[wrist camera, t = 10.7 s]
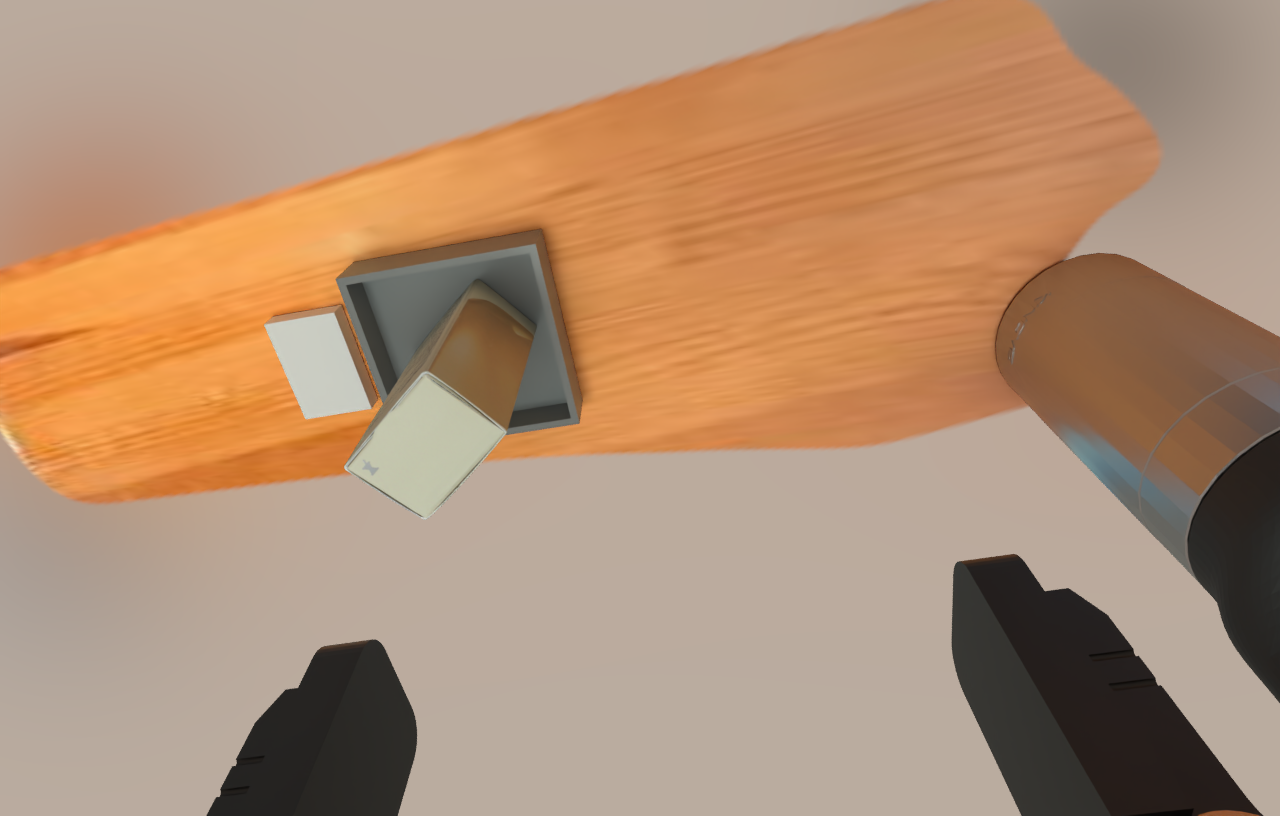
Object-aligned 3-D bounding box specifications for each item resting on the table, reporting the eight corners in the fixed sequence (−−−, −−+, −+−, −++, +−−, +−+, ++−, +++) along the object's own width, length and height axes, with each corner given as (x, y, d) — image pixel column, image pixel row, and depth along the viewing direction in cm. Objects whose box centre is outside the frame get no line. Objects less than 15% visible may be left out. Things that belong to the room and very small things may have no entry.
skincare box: (474, 399, 44) (422, 529, 33) (411, 353, 43) (336, 473, 32) (543, 322, 42) (511, 434, 31) (479, 271, 40) (422, 370, 30)
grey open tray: (541, 228, 40) (535, 243, 38) (582, 400, 45) (579, 423, 43) (257, 279, 41) (233, 297, 39) (326, 440, 46) (309, 465, 44)
